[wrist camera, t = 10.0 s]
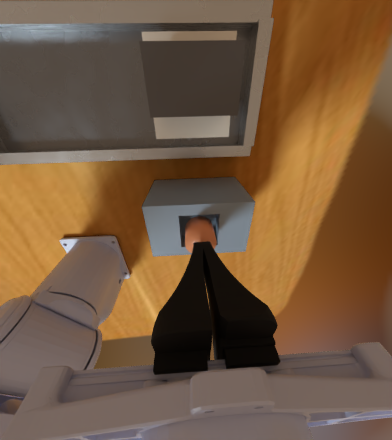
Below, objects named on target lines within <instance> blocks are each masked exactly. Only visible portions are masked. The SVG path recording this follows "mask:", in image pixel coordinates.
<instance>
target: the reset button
mask: <svg viewBox="0 0 392 440" xmlns="http://www.w3.org/2000/svg"><path fill="white" fill-rule="evenodd" d="M206 241H210V242H211V245H212V247H213V248H214V249H215V247H216V244H217V241H216V237H215V233H214V229H213V225H212V222H211V221H210V220H209V219H208V218H206V217H203V216H197V217H193V218H191V219H190V220H189V221H188V222H187V223H186V226H185V247H186V249H187V250H188V251H189V252H190V253H192V251H193V243H194V242H206Z"/></svg>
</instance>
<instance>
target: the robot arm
mask: <svg viewBox="0 0 392 440" xmlns="http://www.w3.org/2000/svg"><path fill="white" fill-rule="evenodd" d="M113 241H114V242H113ZM60 243H61V244H62V246H63V248H64V249H65V251H66V252H67V254H66V255H65V256H64V258H63V259H62V260H61V261H60V262H59V263H58V265H57V266H56V267H55V268H54V269H53V270H52V271H51V273H50V274H49V275H48V276H47V277H46V278H45V280H44V281H43V282H42V283H41V284H40V285H39V286H38V288H37V289H36V290H35V291H34V292H33V293H32V295H31V296H30V297H29V296H27V295H23V296H20V297H18V298H14V299H11V300H9V301H7V302H6V303H4V304H3V305H2V306H0V440H313V437H312V434H311V432H310V429H309V427H314V426H321V425H330V424H337V423H345V422H353V421H361V420H369V419H370V420H371V419H379V418H390V417H392V357H391V355H390V354H389V353H388V352H387V351H386V350H385V348H384V347H383V346H382V345H381V344H380V343H379V342H371V343H360V344H356V345H354V346H353V347H352V348H351V349H350V350H342V351H327V352H314V353H301V354H288V355H278V353H277V350H276V348H275V340H274V338H273V334H274V333H275V331H276V329H277V322H276V320H275V317H274V316H273V314H272V312H271V310H270V309H269V307H268V306H267V305H266V304H265V303H263V302H262V301H261V300H259V299H258V298H257V297H255V296H254V295H253V294H252V293H251V292H249V291H248V290H247V289H246V288H245V287H244V286H243V285H242V284H241V283H240V282H239V281H238V280H237V279H236V278H235V277H234V276H233V275H232V274H231V273H230V272H229V270H228V269H227V268H226V267H225V265H224V264H223V263H222V261H221V260H220V258H219V257H218V255H217V254H216V252H215V250H214V248H213V247H212V245H211V242H210V241H206V242H194V243H193V251H192V255H191V258H190V261H189V264H188V266H187V269H186V271H185V273H184V275H183V277H182V279H181V281H180V283H179V285H178V286H177V288H176V290H175V291H174V293H173V294H172V296H171V297H170V299H169V300H168V302H167V303H166V304H165V305H164V307H163V308H162V309H161V311H160V312H159V314H158V316H157V319H156V322H155V324H154V328H153V332H152V339H151V344H152V346H153V349H154V351H155V358H154V365H143V366H131V367H117V368H103V369H93V368H94V366H95V364H96V362H97V359H98V357H99V354H100V350H101V344H102V333H101V331H100V330H99V329H97V328H98V326H99V325H100V324H101V323H102V322H104V321H105V320H106V318H107V317H108V316H109V315H110V313H111V312H112V310H113V307H114V304H115V302H116V299H117V296H118V294H119V291H120V288H121V286H122V283H123V281H124V279H128V278H130V273H129V270H128V268H127V265H126V262H125V260H124V257H123V254H122V252H121V249H120V246H119V244H118V241H117V238H116V237H115V236H92V237H72V238H62V239H61V240H60ZM204 278H205V279H204ZM205 283H206V285H205ZM206 288H207V292H206ZM207 293H208V298H207ZM208 299H209V304H208ZM209 307H210V309H209ZM212 337H213V348H214V359H215V360H210V351H211V343H212ZM3 394H6V395H3ZM9 395H12V396H9ZM15 396H19V397H15Z"/></svg>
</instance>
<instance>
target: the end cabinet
mask: <svg viewBox="0 0 392 440" xmlns="http://www.w3.org/2000/svg"><path fill="white" fill-rule="evenodd" d="M254 205H255V201H254V200H253V199H252V197H251V196H250V195H249V194H248V192H247V191H246V190H245V189H244V187H243V186H242V185H241V184H240V183H239V181H238V180H237V179H236V178H235V177H220V178H195V179H169V180H154V183H153V185H152V187H151V189H150V191H149V193H148V195H147V197H146V199H145V201H144V203H143V205H142V210H143V215H144V219H145V223H146V228H147V232H148V236H149V240H150V245H151V249H152V253H153V256H169V255H188V254H192V253H190V252H189V251H188V250H187V249H186V247H185V226H186V223H187V222H188V221H189V220H190V219H191V218H193V217H197V216H203V217H206V218H208V219H209V220H210V221H211V222H212V225H213V229H214V233H215V237H216V241H217V244H216V247H215V249H214V250H215V252H216V253H224V252H242V251H246V246H247V241H248V236H249V231H250V226H251V220H252V215H253V210H254Z"/></svg>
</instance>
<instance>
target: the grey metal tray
mask: <svg viewBox="0 0 392 440" xmlns="http://www.w3.org/2000/svg"><path fill="white" fill-rule="evenodd" d="M272 7H273V0H4V1H0V165H7V164H36V163H64V162H93V161H122V160H150V159H179V158H207V157H236V156H250V152H251V146H254V141H255V135H256V129H257V122H258V116H259V110H260V103H261V97H262V91H263V85H264V78H265V72H266V66H267V59H268V53H269V47H270V40H271V34H272V28H273V21H274V18H271V13H272ZM157 31H237V37H236V40H245V50H244V60H243V70H242V80H241V90H240V100H239V110H238V115H235V116H230V126H229V137H208V138H176V139H156V132H155V125H154V118H150V111H149V105H148V98H147V91H146V84H145V78H144V71H143V64H142V57H141V51H140V44H139V41H143V39H142V32H157Z"/></svg>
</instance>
